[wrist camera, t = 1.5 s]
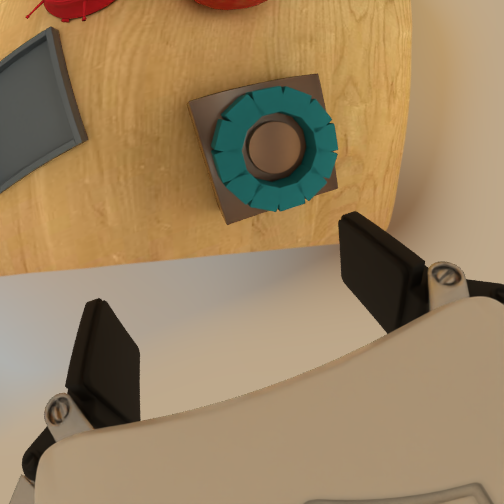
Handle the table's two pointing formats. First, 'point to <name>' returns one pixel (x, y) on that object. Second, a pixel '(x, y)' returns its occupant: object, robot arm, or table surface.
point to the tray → (36, 108)
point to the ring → (314, 161)
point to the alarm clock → (72, 8)
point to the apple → (229, 3)
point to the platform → (256, 141)
